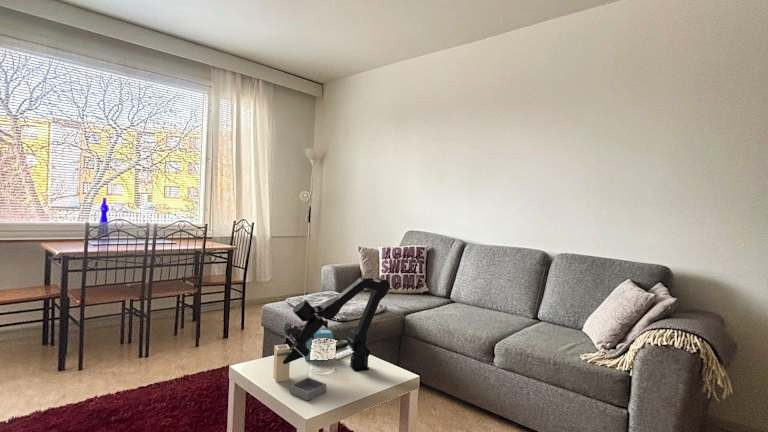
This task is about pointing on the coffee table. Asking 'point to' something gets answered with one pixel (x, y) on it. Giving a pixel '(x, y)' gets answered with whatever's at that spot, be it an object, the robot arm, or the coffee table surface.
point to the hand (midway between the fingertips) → (280, 359)
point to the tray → (307, 389)
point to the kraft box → (281, 363)
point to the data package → (318, 335)
